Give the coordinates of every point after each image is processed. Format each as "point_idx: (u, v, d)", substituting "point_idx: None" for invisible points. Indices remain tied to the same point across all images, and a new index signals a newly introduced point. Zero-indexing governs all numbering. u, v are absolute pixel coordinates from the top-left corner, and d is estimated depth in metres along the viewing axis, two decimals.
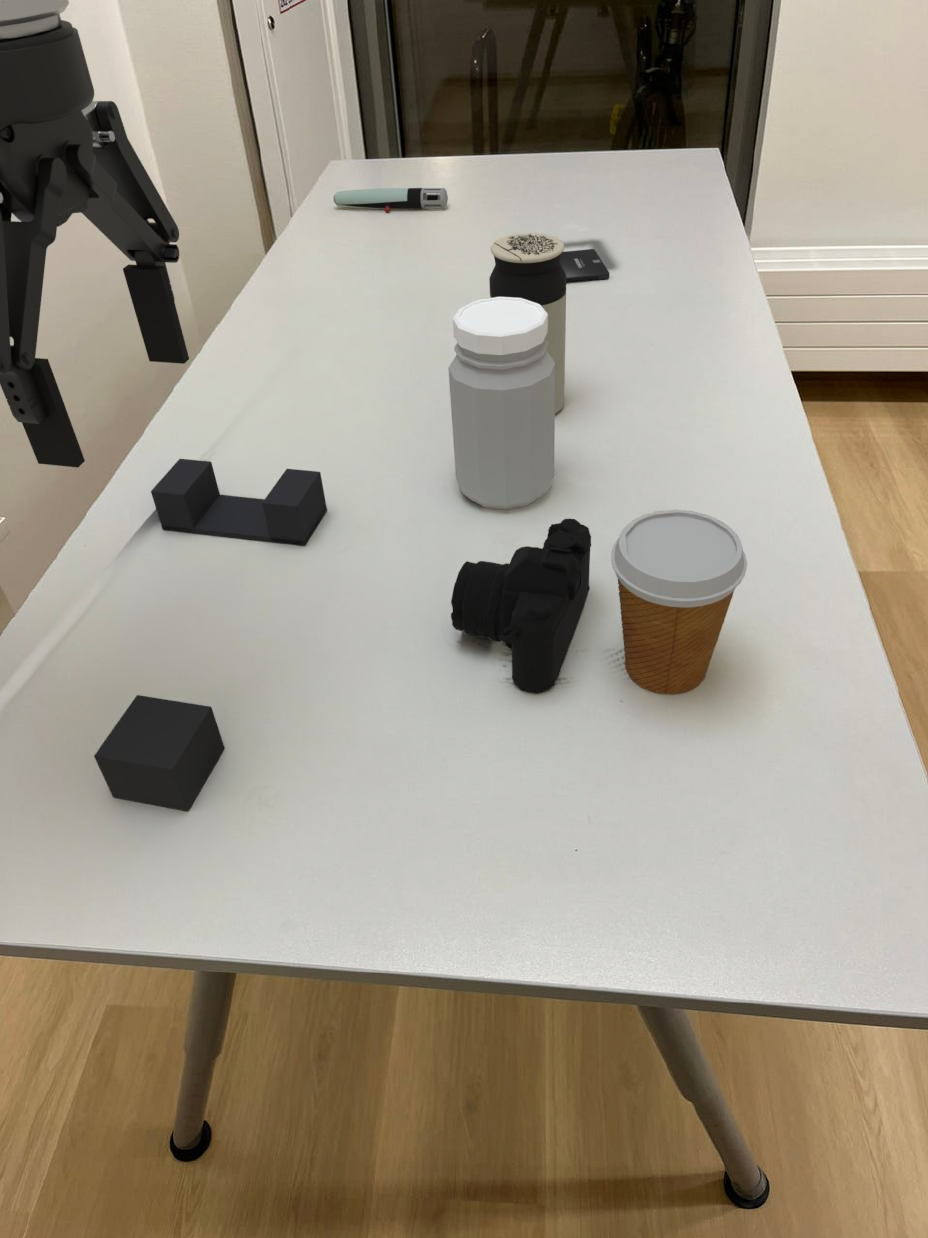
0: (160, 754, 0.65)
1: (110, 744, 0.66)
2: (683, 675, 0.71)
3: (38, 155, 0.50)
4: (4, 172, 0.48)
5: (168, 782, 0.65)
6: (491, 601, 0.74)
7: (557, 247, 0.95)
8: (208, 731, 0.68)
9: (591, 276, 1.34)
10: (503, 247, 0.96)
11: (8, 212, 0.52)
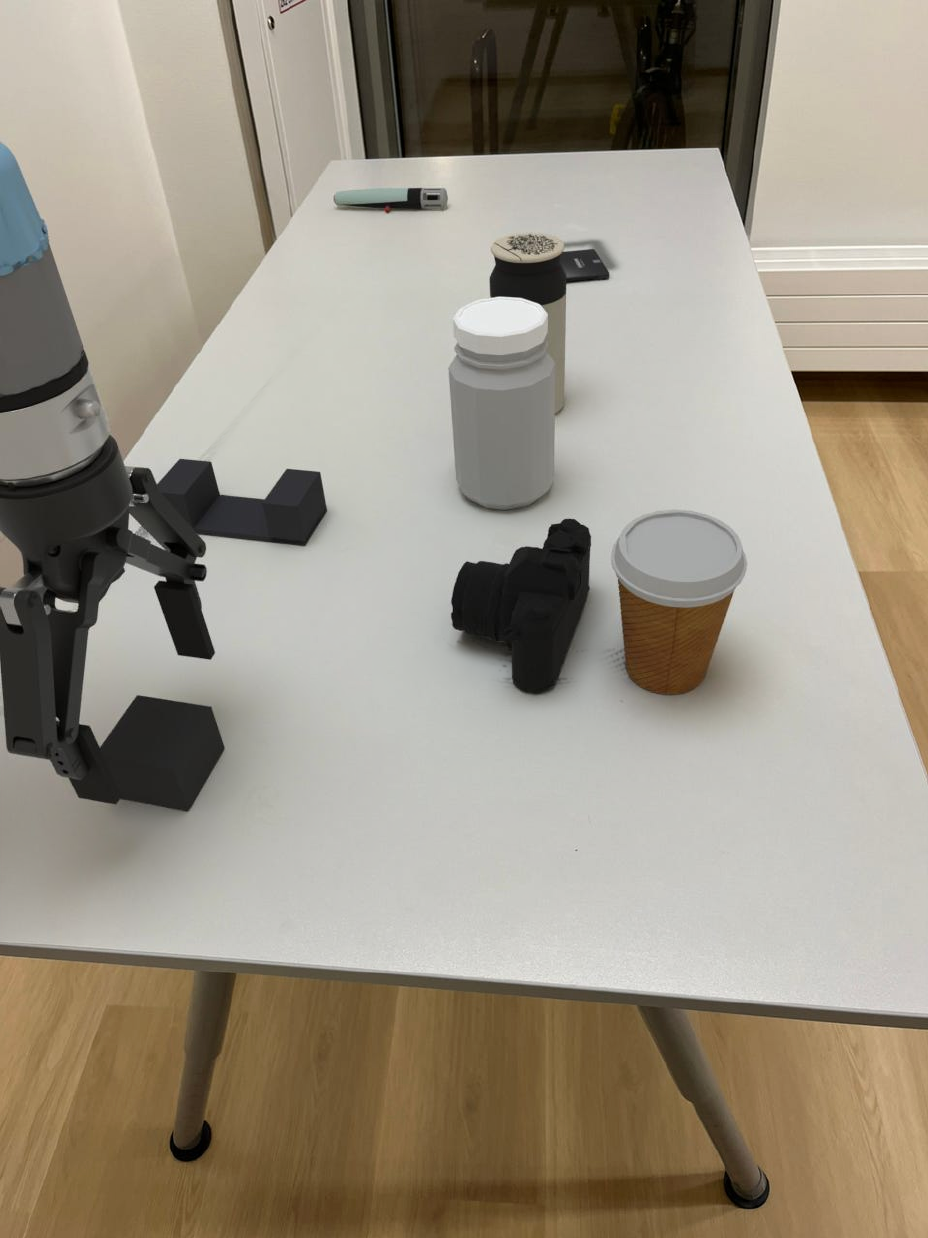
0: (160, 754, 0.65)
1: (110, 744, 0.66)
2: (683, 675, 0.71)
3: (81, 553, 0.54)
4: (51, 582, 0.52)
5: (168, 782, 0.65)
6: (491, 601, 0.74)
7: (557, 247, 0.95)
8: (208, 731, 0.68)
9: (591, 276, 1.34)
10: (503, 247, 0.96)
11: None
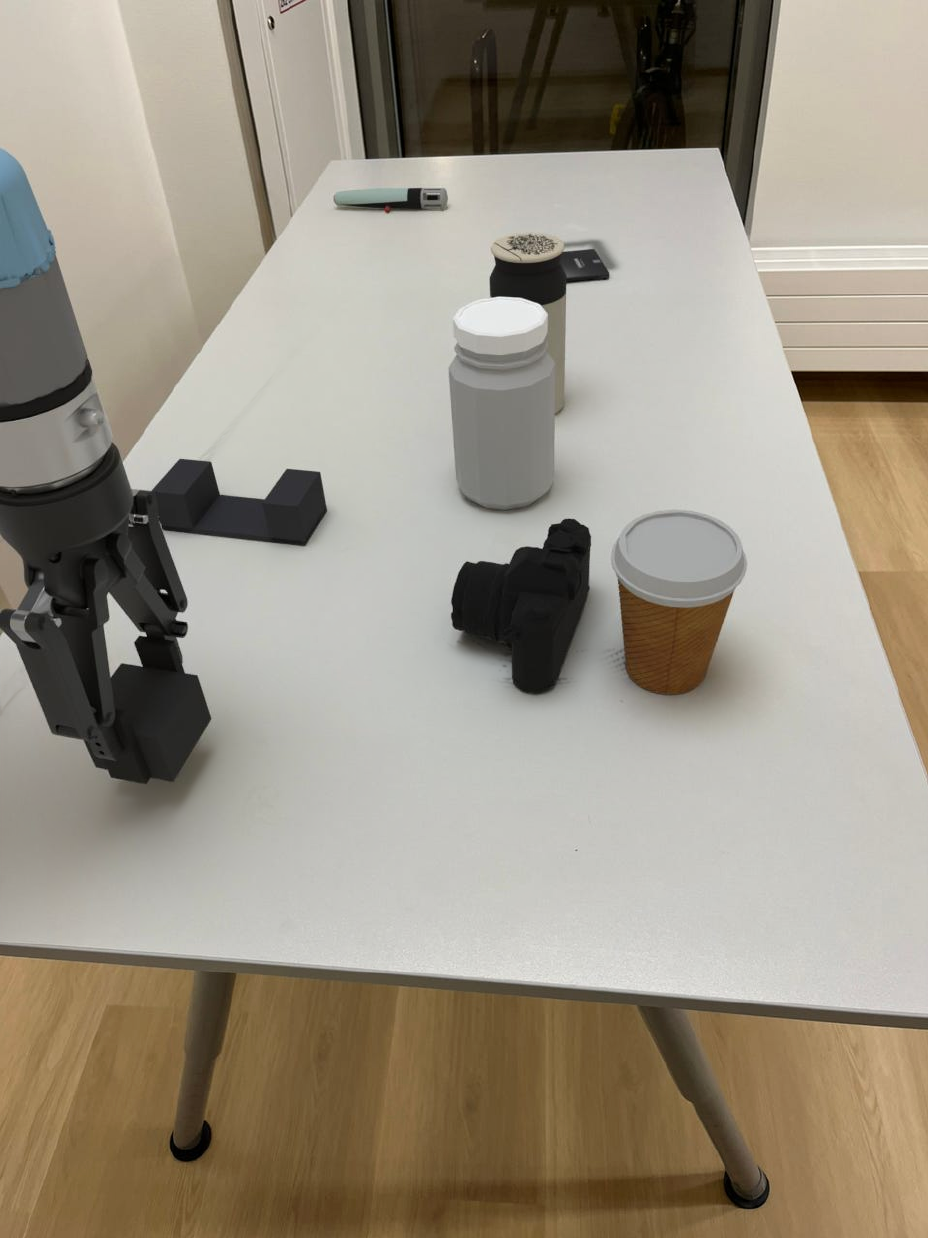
0: (144, 722, 0.63)
1: None
2: (683, 675, 0.71)
3: (81, 559, 0.55)
4: (52, 588, 0.53)
5: (153, 752, 0.63)
6: (491, 601, 0.74)
7: (557, 247, 0.95)
8: (194, 700, 0.66)
9: (591, 276, 1.34)
10: (503, 247, 0.96)
11: None
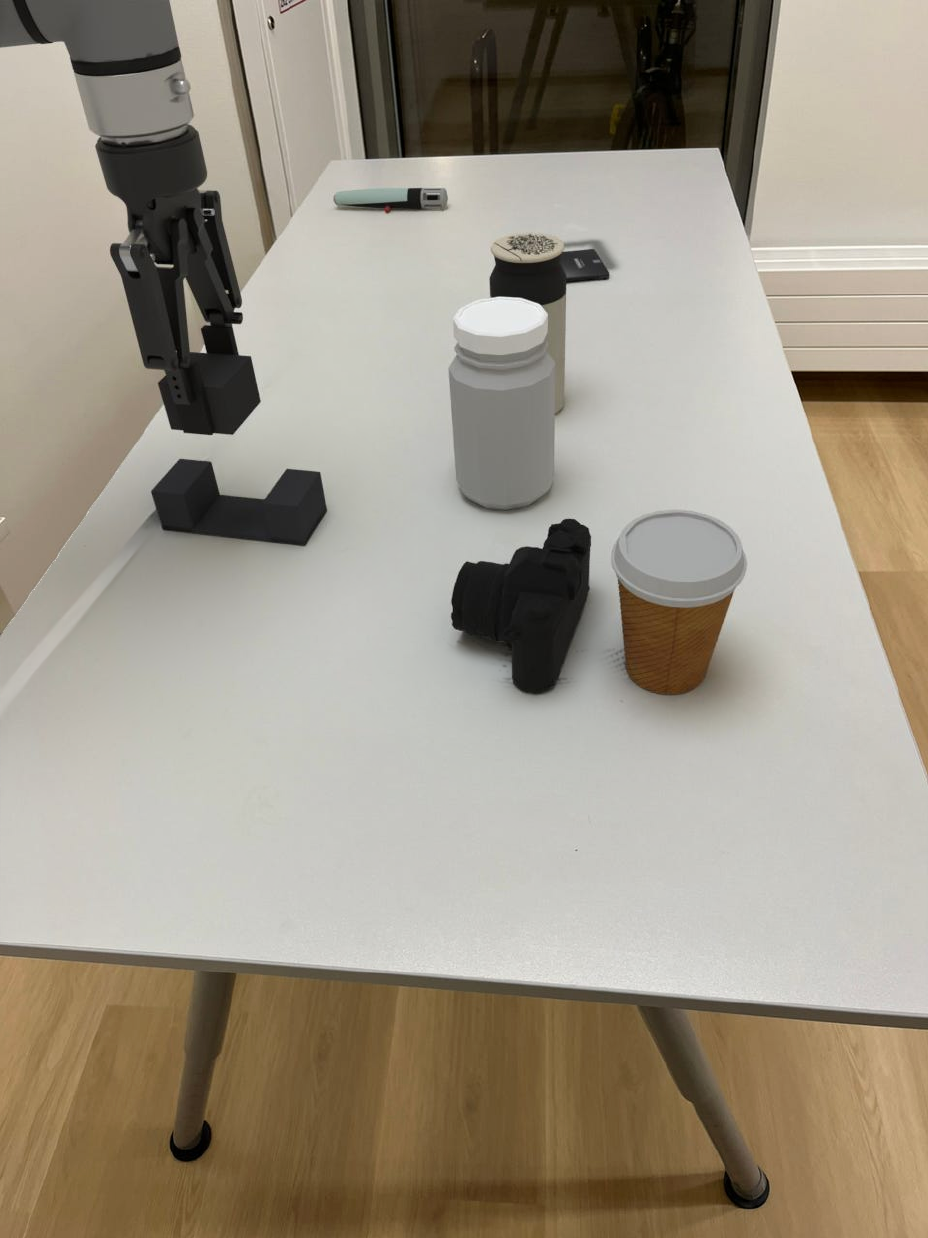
0: (211, 380, 0.80)
1: None
2: (683, 675, 0.71)
3: (168, 217, 0.72)
4: (149, 230, 0.70)
5: (218, 403, 0.80)
6: (491, 601, 0.74)
7: (557, 247, 0.95)
8: (248, 376, 0.84)
9: (591, 276, 1.34)
10: (503, 247, 0.96)
11: None
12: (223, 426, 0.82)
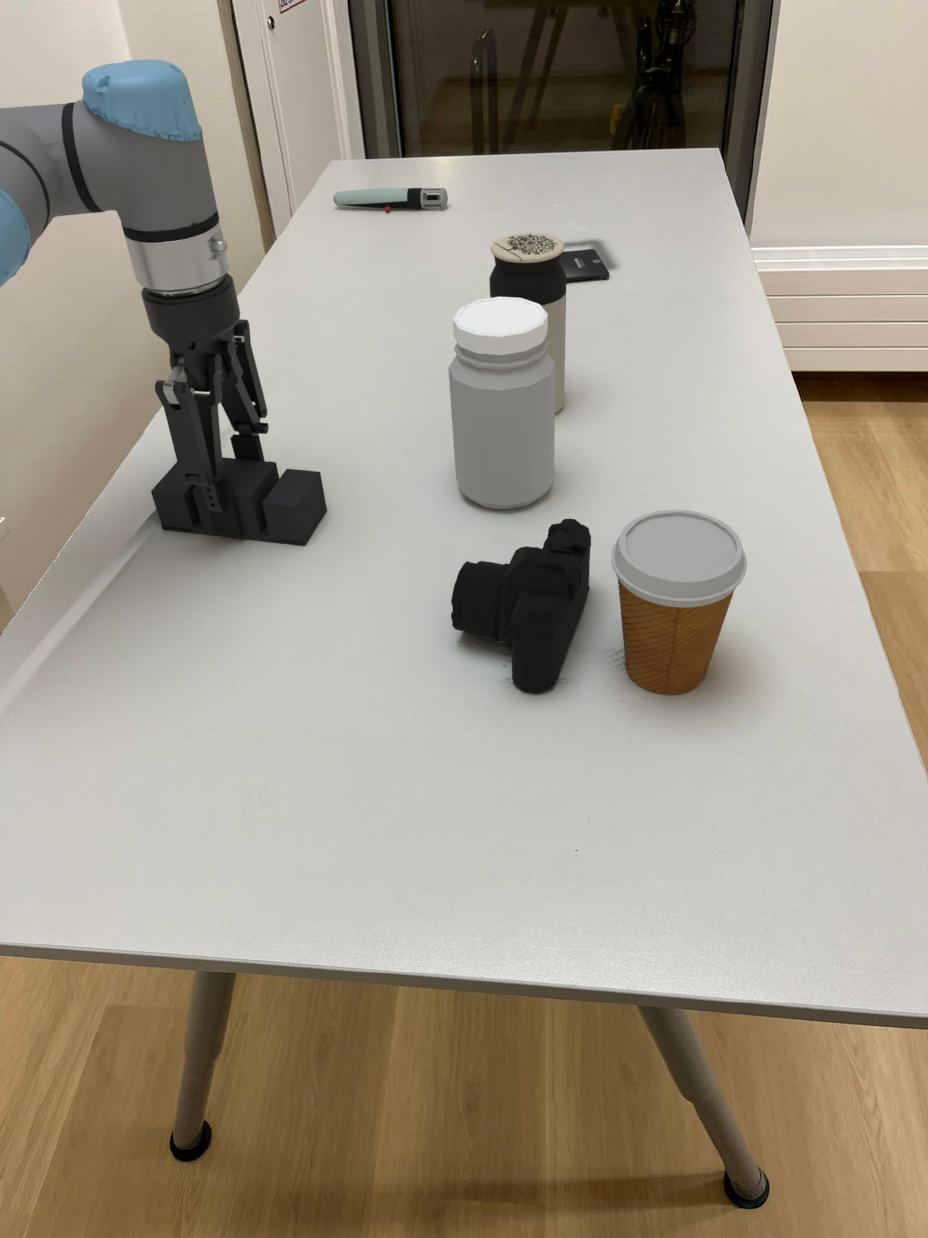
0: (240, 488, 0.89)
1: None
2: (683, 675, 0.71)
3: (206, 352, 0.80)
4: (189, 367, 0.79)
5: (247, 509, 0.89)
6: (491, 601, 0.74)
7: (557, 247, 0.95)
8: (273, 480, 0.92)
9: (591, 276, 1.34)
10: (503, 247, 0.96)
11: None
12: (251, 528, 0.90)
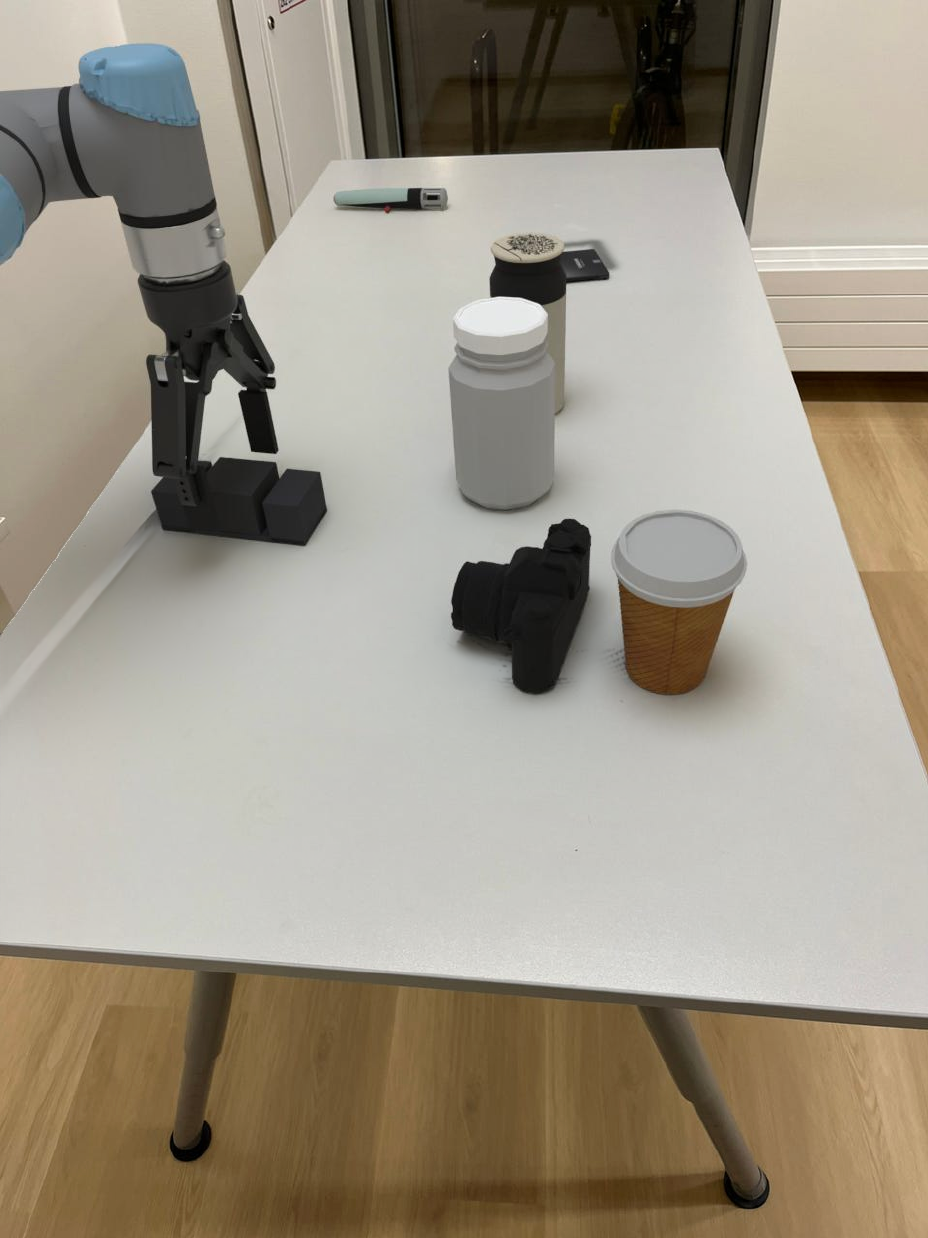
0: (241, 487, 0.89)
1: None
2: (683, 675, 0.71)
3: (202, 341, 0.80)
4: (185, 356, 0.78)
5: (247, 508, 0.89)
6: (491, 601, 0.74)
7: (557, 247, 0.95)
8: (274, 480, 0.92)
9: (591, 276, 1.34)
10: (503, 247, 0.96)
11: None
12: (251, 528, 0.90)
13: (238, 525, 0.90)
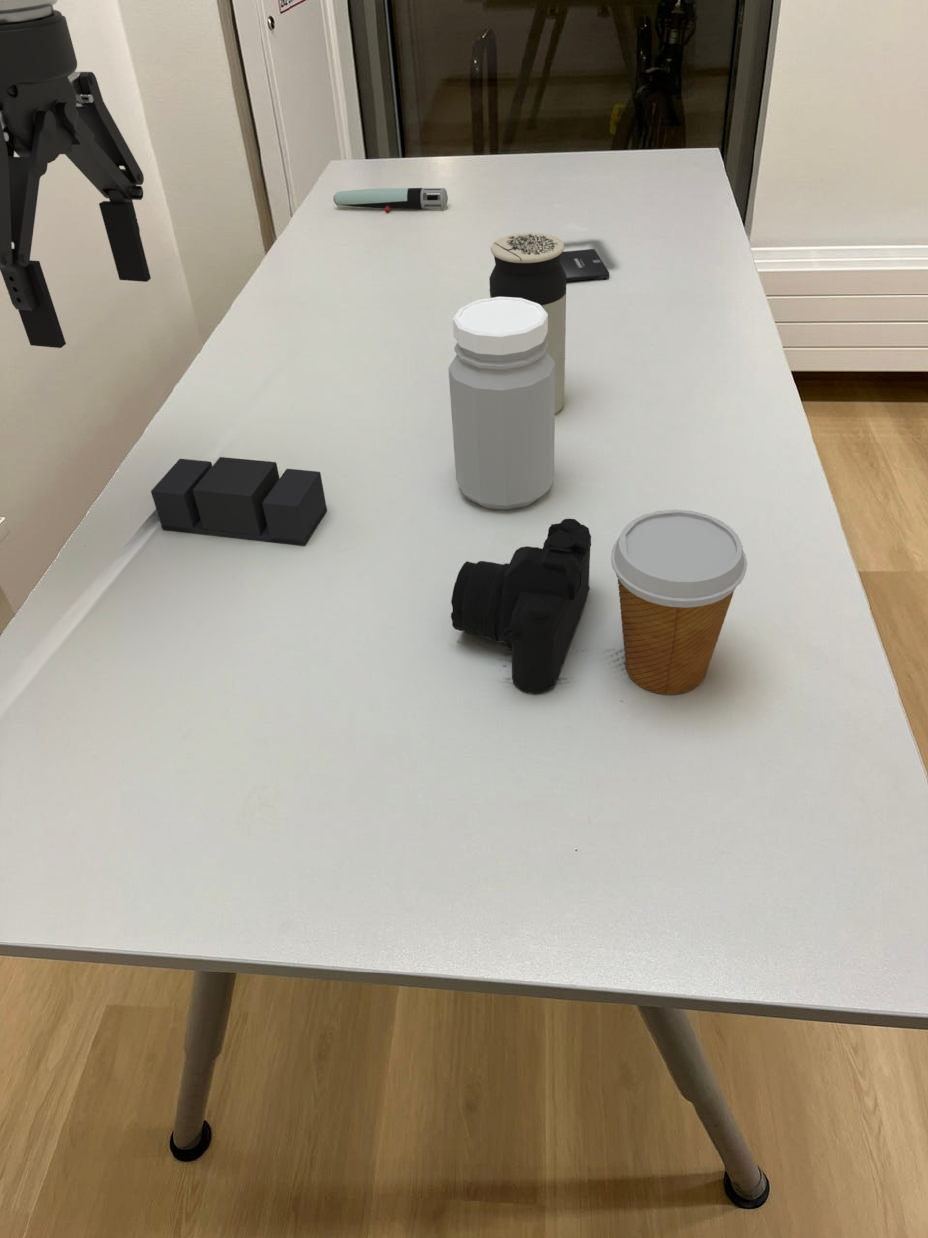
0: (241, 487, 0.89)
1: (203, 483, 0.90)
2: (683, 675, 0.71)
3: (34, 108, 0.68)
4: (10, 119, 0.66)
5: (247, 508, 0.89)
6: (491, 601, 0.74)
7: (557, 247, 0.95)
8: (274, 480, 0.92)
9: (591, 276, 1.34)
10: (503, 247, 0.96)
11: (12, 151, 0.70)
12: (251, 528, 0.90)
13: (238, 525, 0.90)
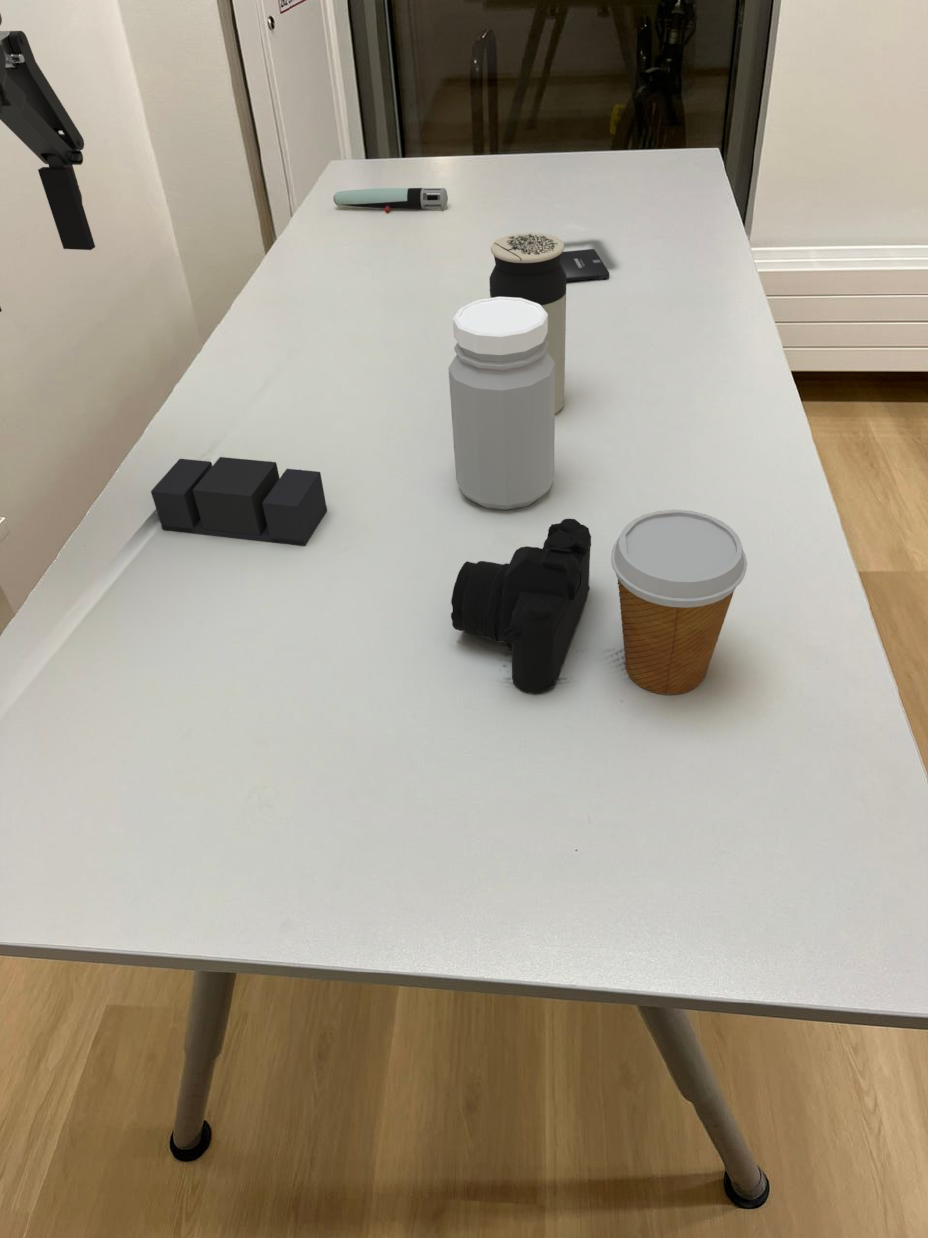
0: (241, 487, 0.89)
1: (203, 483, 0.90)
2: (683, 675, 0.71)
3: None
4: None
5: (247, 508, 0.89)
6: (491, 601, 0.74)
7: (557, 247, 0.95)
8: (274, 480, 0.92)
9: (591, 276, 1.34)
10: (503, 247, 0.96)
11: None
12: (251, 528, 0.90)
13: (238, 525, 0.90)
